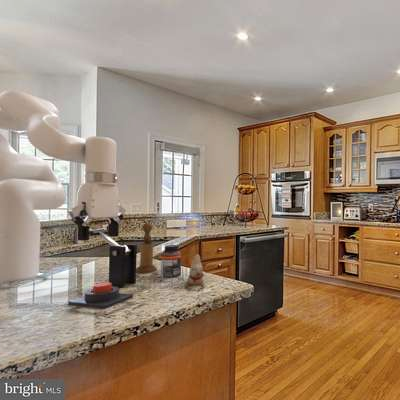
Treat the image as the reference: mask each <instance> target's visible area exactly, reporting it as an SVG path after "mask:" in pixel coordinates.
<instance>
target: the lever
mask: <svg viewBox="0 0 400 400" xmlns="http://www.w3.org/2000/svg"><path fill="white" fill-rule="evenodd" d="M89 237H99V238H100V239H102V240H103V241H105V242H106V243H107V244H108V245H110V246H126V245H122V244H121V245H120V244H119V243H118V242H116V241H115V240H114V239H112V238H111V237H110V236H108V229H100V230H99V229H98V230H89ZM131 251H132V250H131V249H130V248H128V247H127V246H126V254H125V258H126V257H128V256H129V254H130V253H131Z"/></svg>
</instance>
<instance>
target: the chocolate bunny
mask: <svg viewBox="0 0 400 400" xmlns="http://www.w3.org/2000/svg"><path fill="white" fill-rule="evenodd" d="M204 276H205V274H204V268H203V265H202V262H201V256H200V254H195V256H194V258H193V259H192V261H191V263H190V268H189V275H188V277H187V279H186V284H188V285H190V286H200V285H202V284H203V283H204ZM202 288H203V287H200V288H198V289H197V290H202Z"/></svg>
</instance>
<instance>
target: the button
mask: <svg viewBox="0 0 400 400" xmlns="http://www.w3.org/2000/svg"><path fill="white" fill-rule="evenodd" d="M111 285H112V283H109V281H108V282H107V281H105V282H104V281H103V282H98V283H95V284H93V285H92V289H93V293H103V292H108V291H111Z"/></svg>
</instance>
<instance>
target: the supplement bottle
mask: <svg viewBox="0 0 400 400" xmlns="http://www.w3.org/2000/svg"><path fill="white" fill-rule="evenodd" d="M160 255H161V257H160V277H161V278H164V279H172V278H173V279H174V278H178V277H180V276H182V253H181V251H180V250H179V244H166V245H164V250H163V252H162V253H161V254H160Z"/></svg>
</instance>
